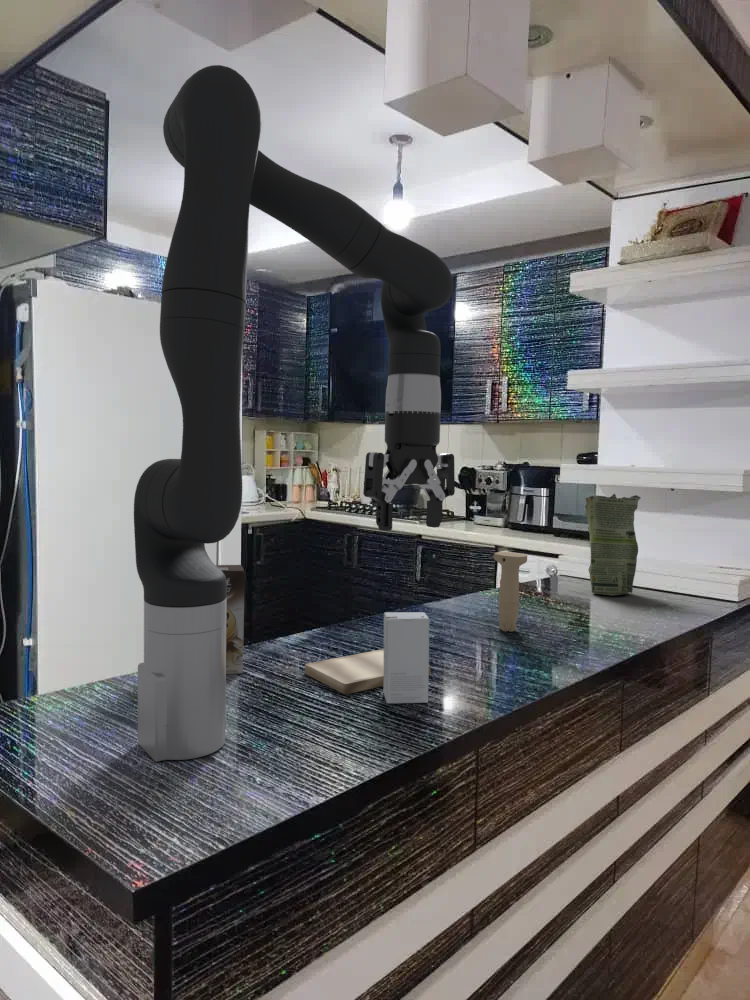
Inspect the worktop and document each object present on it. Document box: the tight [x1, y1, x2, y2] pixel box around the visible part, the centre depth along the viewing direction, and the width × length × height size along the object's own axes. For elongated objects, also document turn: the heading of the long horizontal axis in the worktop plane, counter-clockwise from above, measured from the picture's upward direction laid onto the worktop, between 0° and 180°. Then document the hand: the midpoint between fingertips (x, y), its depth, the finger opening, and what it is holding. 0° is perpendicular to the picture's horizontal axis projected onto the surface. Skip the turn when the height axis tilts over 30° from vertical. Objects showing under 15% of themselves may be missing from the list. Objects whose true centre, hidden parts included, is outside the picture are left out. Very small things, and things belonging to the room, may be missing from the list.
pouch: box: [584, 493, 641, 597], centre depth 177 cm, size 11×12×25 cm
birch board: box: [304, 648, 431, 695], centre depth 109 cm, size 16×11×2 cm
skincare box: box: [382, 611, 430, 704], centre depth 99 cm, size 6×4×12 cm
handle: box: [493, 551, 528, 633], centre depth 138 cm, size 5×6×15 cm
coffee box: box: [215, 564, 246, 675], centre depth 110 cm, size 9×6×16 cm
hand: (409, 528), depth 97 cm, fingers open, 8 cm apart
